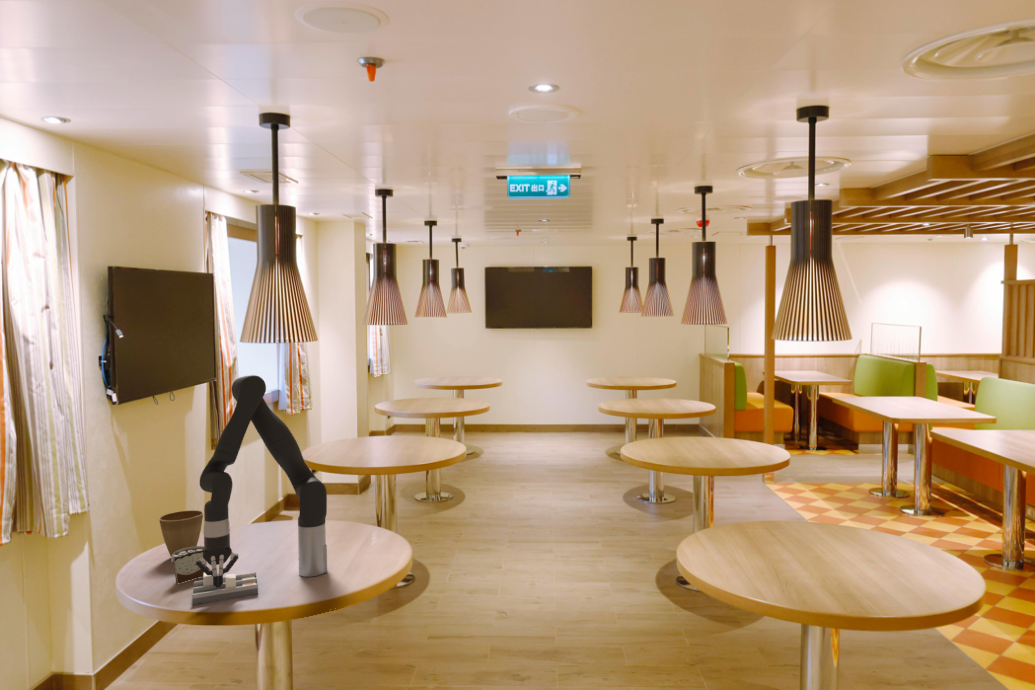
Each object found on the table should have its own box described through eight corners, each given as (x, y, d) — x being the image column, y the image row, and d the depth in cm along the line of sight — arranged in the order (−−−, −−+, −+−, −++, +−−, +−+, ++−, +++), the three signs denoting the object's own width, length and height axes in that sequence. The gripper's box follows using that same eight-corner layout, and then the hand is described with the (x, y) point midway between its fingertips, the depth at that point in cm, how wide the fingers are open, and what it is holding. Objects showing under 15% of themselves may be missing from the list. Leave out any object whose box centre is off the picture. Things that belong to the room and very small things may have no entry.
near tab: (235, 585, 210) (235, 573, 210) (235, 590, 206) (235, 577, 206) (225, 587, 209) (225, 574, 209) (225, 591, 205) (225, 579, 205)
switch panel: (256, 581, 219) (256, 572, 219) (258, 594, 208) (257, 584, 208) (194, 591, 211) (193, 581, 211) (192, 605, 200) (192, 594, 200)
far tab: (214, 582, 213) (213, 570, 213) (213, 587, 209) (213, 575, 209) (203, 584, 211) (203, 572, 211) (203, 589, 207) (203, 576, 207)
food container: (201, 571, 230) (201, 543, 229) (209, 575, 226) (209, 546, 225) (165, 581, 220) (164, 552, 220) (172, 585, 216) (172, 556, 216)
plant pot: (212, 550, 252) (211, 509, 252) (188, 563, 237) (187, 520, 237) (176, 549, 253) (175, 509, 253) (151, 563, 239) (150, 520, 238)
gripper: (239, 526, 212) (240, 579, 212) (194, 532, 207) (195, 586, 207) (239, 533, 205) (240, 587, 205) (193, 539, 200) (194, 594, 200)
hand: (218, 586), depth 206 cm, fingers closed
